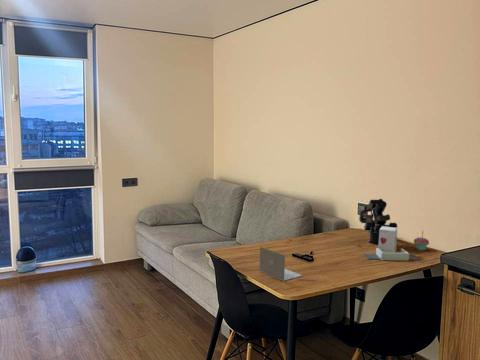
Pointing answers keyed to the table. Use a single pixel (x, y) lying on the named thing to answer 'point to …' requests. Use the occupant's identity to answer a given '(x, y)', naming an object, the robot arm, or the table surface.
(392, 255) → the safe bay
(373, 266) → the table surface
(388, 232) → the supplement box
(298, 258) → the table surface
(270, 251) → the laptop
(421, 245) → the cupcake
